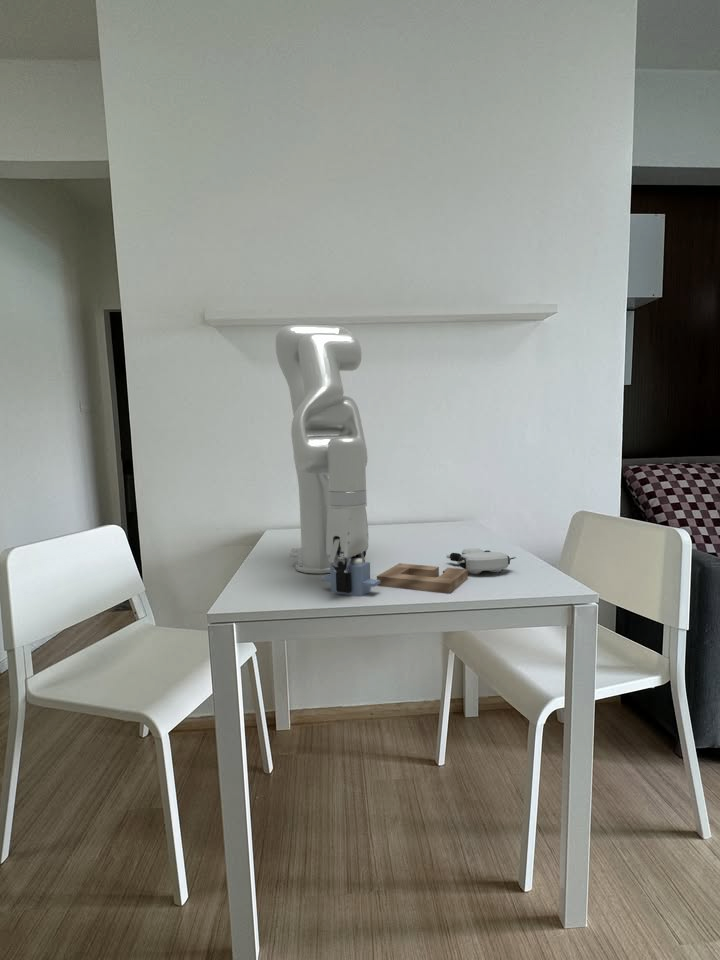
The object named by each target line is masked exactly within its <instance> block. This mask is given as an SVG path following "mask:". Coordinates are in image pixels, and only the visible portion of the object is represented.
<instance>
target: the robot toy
mask: <svg viewBox="0 0 720 960" xmlns="http://www.w3.org/2000/svg"><path fill="white" fill-rule="evenodd" d="M445 557H446V559H449V560H450V561H452V562H457V565H458V566H459V567H460V568H461V569H468V574H469V573H470V574H472V575H478V574H479V575H480V574H481V573H482V572H483V571H488V572H489V573H492V572H497V573H500V572H501V571H502V570H503V569H507V568H508V567H509V565H510V564H511V561H512V560H514V559H517V556H513V557H510V556H509V555H507V553H506V554H505V552H504V553H503V552H500V551H499V552H498V551H490V550H483V549H481V548H478V547H475V548H474V547H472V548H464V549H463V550H462V551H461V553H458V552H451V553H450V554H446V556H445Z"/></svg>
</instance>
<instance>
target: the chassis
mask: <svg viewBox="0 0 720 960" xmlns="http://www.w3.org/2000/svg"><path fill="white" fill-rule="evenodd" d="M468 574H469V572H468V569H464V568H459V567H458V568H456V567H446V568H445V569H444V570H442V573H441V574H440V567H439V566H436V565H435V566H433V565H423V564H411V563H398V564H396V565H394V566H392V567H391V568H389V569H386V570H385V571H384V572H381V573H380V574H378V575H376V580H380V584H378V585H377V586H378V587H387V588H395V589H405V590H416V591H423V592H424V591H425V592H426V591H427V592H433V593H442V594H451V593H453V592H454V591H455V590H456V589H458V588H459V587H460V586H461V585H462V584H463V583H464V582H466V581H467V580H468V579H469V577H468Z"/></svg>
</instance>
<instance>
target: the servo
mask: <svg viewBox="0 0 720 960" xmlns="http://www.w3.org/2000/svg"><path fill="white" fill-rule="evenodd" d="M340 561H342V562H343V564H344V565H345V560H340ZM349 572H350V573H351V585H352V591H351V592H350V593H345V592H338V591H337V590H336V572H334V567H333V565H332V564H330V573H329V574H327V575H324V576H322V577H321V579H320V580H321V582H329V583H330V593H331V594H339V595H345V596H346V595H348V596H355V597H356V596H357V597H363V596H365V595H367V594H368V593H370V592H371V591H372V589H371V587H373V588H375V587H377V586H378V584H380V580H377V579H373V578H371V562H369V561H365V562H362V558H354V559H353V561H351V560H350V567H349Z"/></svg>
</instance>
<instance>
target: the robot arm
mask: <svg viewBox="0 0 720 960" xmlns="http://www.w3.org/2000/svg"><path fill="white" fill-rule="evenodd" d="M275 352H276V359H277V362H278V365H279V368H280V370H281V372H282V374H283V376H284V378H285V380H286V383H287V386H288V389H289V394H290V395H289V396H290V402H291V408H292V414H293V415H292V416H293V417H292V421H291V429H290V430H291V431H290V434H291V443H292V450H293V460H294V464H295V469H296V476H297V483H298V485H297V486H298V497H299V519H300V521H299V522H300V542H301V543H300V544H301V545H300V546H301V547H300V548H295V547H293V548H291V549H290V552H289V558H294V559H295V558H296V559H297V560H298V561H297V562H296V563H295V570H296V571H298V572H301V573H305V574H330V564H332V565H333V567H334V572H336V590H337V591H338V592H345V593H350V592H351V591H352V585H351V573H350V572H349V567H350V561H353V559H354V558H362V562H366V559H365V558H366V556H367V551H368V549H369V524H368V516H367V515H368V513H367V509H366V507H367V505H368V503H367V502H368V501H367V474H366V471H367V469H366V468H367V466H368V465H367V464H368V448H367V444H366V439H365V434H364V428H363V424H362V419H361V414H360V410H359V406H358V405H357V403H356V401H355V400H354V399H353V398H351V397H350V396H345V395H344V388H343V387H344V386H343V383H342V382H343V381H342V376H341V371H342V372H343V371H344V372H345V371H346V372H347V371H348V372H351V371H352V372H353V371H355V370H358V368H359V366H360V365H361V362H362V348H361V345H360V342H359V340H358V338H357V336H356V335H355V333H352V332H351V331H350V330H348V329H347V328H345V327H342V326H340V325H339V326H338V325H325V324H323V325H321V324H304V323H303V324H301V323H299V324H289V325H284V326H282V327H281V328H280V329H279V330H278V331H277V333H276V336H275ZM342 554H343V555H342ZM340 560H345V565H344V564H343V562H342V561H340Z"/></svg>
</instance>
